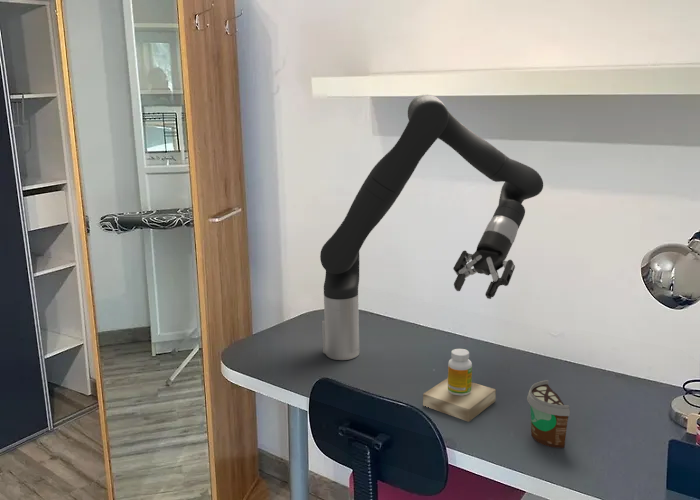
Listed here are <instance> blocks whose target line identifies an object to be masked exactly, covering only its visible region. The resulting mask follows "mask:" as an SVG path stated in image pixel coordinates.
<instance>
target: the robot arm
mask: <svg viewBox="0 0 700 500" xmlns="http://www.w3.org/2000/svg"><path fill="white" fill-rule="evenodd" d="M407 118H408V122H407V125H406V126H405V129H404V130H403V132H402V134H401V135H400V137H399V139H398V140H397V142H396V143H395V144H394V146H393V147H391V149H390V150H388V152H387V153H386V154H385V155H383V157H381V159H380V160H378V162H377V163H376V164H375V165H374V167H373V168H372V169H371V171H370V172H369V173H368V175H367V177H366V178H365V180H364V181H363V183H362V185H361V187H360V188H359V190H358V191H357V193H356V195H355V197H354V200H353V201H352V203H351V205H350V207H349V209H348V210H347V213H346V215H345V217H344V219H343V221H342V222H341V224H340V225H339V226H338V228H337V229H336V230H335V232H334V233H333V234H332V236H330V238H328V240H326V241H325V243H324V244H323V246H322V247H321V250H320V253H319V254H320V256H319V258H320V263H321V266H322V268H323V270H325V276H324V277H325V278H324V282H323V307H324V309H323V310H324V314H323V315H324V319H322V321H321V327H322V328H321V330H322V333H321V334H322V335H321V336H322V337H321V338H322V353H323V354H325V355H326V357H328V358H329V359H331V360H335V361H347V360H352V359H355V358H357V357H358V356H359V355H360V325H359V324H360V320H359V319H360V315H359V311H360V310H359V284H360V250H361V248H362V246H363V244H364V243H365V241H366V239H367V238H368V236H369V235H370V233H371V232H372V231H374V229H375V227H377V225H378V224H379V223H380V222H381V220H382V219H383V218H384V217H385V216H386V214H387V213H388V212H389V210H390V209H391V208H392V206H393V205H394V203H396V200H397V199H398V197H399V196H400V195H401V193H402V191H403V190H404V188H405V186H406V185H407V183H408V181H409V180H410V178H411V177H412V175H413V174H414V171H415V170H416V168H417V166H418V165H419V163H420V162H421V160H422V158H424V156H425V154H426V153H427V152H428V151H429V150H430V148H431V147H432V146H433V144H434V143H435V142H436V141H437V140H440V141H442V142H443V143H445V144H446V145H447V146H449V147H450V148H451V149H453V150H454V151H455V152H456V153H457V154H458V155H460V157H462V158H463V159H464V161H466V162H467V163H468V164H469V165H471V166H472V167H473V168H474V169H476V170H477V171H478V172H480V173H481V174H482V175H484V176H485V177H486V178H488V179H489V180H491V181H492V182H496V183H498V182H499V183H500V182H504V183H503V185H502V187H501V190H500V194H499V199H498V205H497V207H496V208H495V211H494V214H493V215H492V217H491V219H490V221H489V222H488V224H487V226H486V228H485V229H484V232H483V233H482V236H481V238H480V240H479V242H478V244H477V246H476V250H475V251H474V252H473V254H472V253H469V252H468V251H467V250H462V252H461V254H460V255H459V257H458V259H457V261H456V263H455V264H454V266H453V268H452V269H453V271H454V273H455V274H456V275H457V276H456V278H455V280H454V282H453V287H454V289H455V291H456V292H460V291H462V288H463V285H464V284H465V281H466V278H468V277H469V276H473V275H475V274H483V275H486V276H491V279H492V280H491V281H490V283H489V284H488V287H487V290H486V292H485V297H486V299H487V300H491V299H493V298H494V296H495V295H496V293H497V291H498V289H499V287H501V286H505V287H508V286H509V283H511V282H510V281H511V278H512V276H513V273H514V271H515V268H516V265H515V263H514V262H513V260H512V259H508V260H506V259H507V256H509V255H508V254H509V252H510V250H511V249H512V246H513V244H514V243H515V241H516V237H517V234H518V231H519V229H520V226H521V224H522V222H523V220H524V218H525V215H526V214H525V213H526V208H525V207H524V205H523V203H524V201H526V200H528V199H531V198H534V197H536V196H538V195H540V194H541V193H542V191H543V189H544V180H543V178H542V176H541V175H540V174H539V172H538V171H537V170H535V169H534V168H533V167H530V166H528V165H526V164H524V163H522V162H519V160H518V161H517V160H514V159H512V158H510V157H509V156H507V155H506V154H504V153H503V152H502V151H501V150H499V149H498V148H497V147H496V146H494V145H493V144H491V143H489V142H488V141H487V140H485V139H484V138H482V137H481V136H479V135H478V134H476V133H475V132H474V131H472V130H470V129H469V128H468V127H466V125H464V124H462V123H461V122H460V121H459V120H458V119H457V118H456V117H454V115H453V114H451V112H450V111H449V110H448V108H447V106H446V105H445V104H444V103H443V101H442V100H440V98H438V97H437V96H435V95H432V94H420V95H417V96H416V97H415V98H413V99H412V100H411V101H410V103H409V106H408V108H407ZM503 268H504V270H503V271H502V274H501V277H500V276H499V273H498V271H499V270H500V269H503Z"/></svg>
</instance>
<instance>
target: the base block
mask: <svg viewBox="0 0 700 500" xmlns="http://www.w3.org/2000/svg"><path fill="white" fill-rule="evenodd" d="M496 391H497V390H496V389H495V388H492V387H490V386H485V385H482V384H479V383H476V382H472V384H471V392H470V393H469V394H468V395H464V396H457V395H453V394H451V393H450V392H449V391H448V377H447V378H445V379H444V380H441V382H439V383H438V384H435V385H434V386H433V387H432V388H430V389H429V390H427V391H424V392H423V394H422V406H423V407H425V406H426V408H428V407H429V409H432V410H435V411H438V412H440V413H443V414H446V415H449V416H450V417H451V416H452V417H455V418H456V419H460V420H462V421H464V422H468V423H469V422H471V421H472V420H473V419H475V417H477V416H478V415H479V414H481V413H482V412H484V411H485V410H486V409H488V408H489V407H490V406H491V405H492V404H494V403H496V395H497V394H496V393H497V392H496Z"/></svg>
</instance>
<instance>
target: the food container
mask: <svg viewBox="0 0 700 500" xmlns="http://www.w3.org/2000/svg"><path fill="white" fill-rule="evenodd" d="M526 401H527V403H528V404H529V405H530V433H531V437H532V438H533V440H535V442H537V443H539V444H541V445H543V446H547V447H549V448H550V447H551V448H556V449H563V448H565V445H566V436H567V428H568V420H569V417H570V416H571V414H570V413H571V411H570V410H571V409H570V405H569V404H564V402H563V400H561V398H560V396H559V395H558V393H556V392H555V391H554V390H553V389H552V388H551V386H550V385H549V379H547V380H541V381H538V382H535V383H533V384H532V385H531V387H530V389H529V391H528V393H527V397H526Z"/></svg>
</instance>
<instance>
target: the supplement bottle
mask: <svg viewBox="0 0 700 500" xmlns="http://www.w3.org/2000/svg"><path fill="white" fill-rule="evenodd" d="M450 354H451V355H450V357H451V358H450V359H449V360H448V367H447V370H448V371H447V378H448V391H449V392H450V393H451V394H453V395H457V396H464V395H468V394H469V393H470V392H471V384H472V381H473V377H472V376H473V375H472V374H473V363H472V361H471V360H470V351H469V350H467V349H464V348H454V349H452V350H451V353H450Z"/></svg>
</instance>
